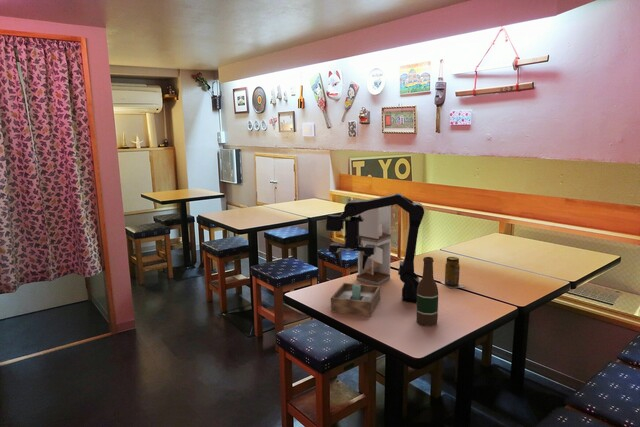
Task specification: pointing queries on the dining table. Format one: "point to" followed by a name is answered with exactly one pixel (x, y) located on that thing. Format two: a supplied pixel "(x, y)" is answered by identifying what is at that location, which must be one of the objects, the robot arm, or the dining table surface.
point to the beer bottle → (427, 296)
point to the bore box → (359, 307)
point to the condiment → (452, 273)
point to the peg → (356, 292)
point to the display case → (377, 234)
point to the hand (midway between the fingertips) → (352, 268)
